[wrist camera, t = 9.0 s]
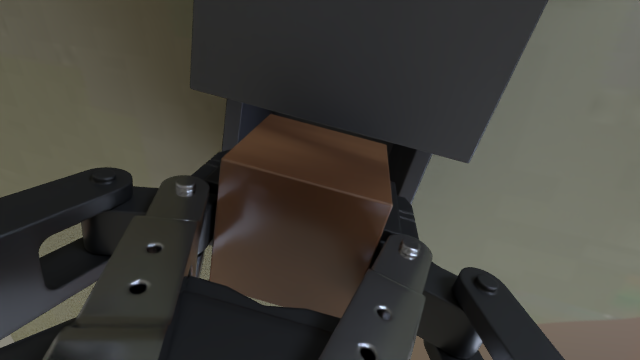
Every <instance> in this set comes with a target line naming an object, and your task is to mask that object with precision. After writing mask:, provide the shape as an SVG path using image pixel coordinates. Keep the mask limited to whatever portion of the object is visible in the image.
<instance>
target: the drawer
mask: <svg viewBox="0 0 640 360" xmlns="http://www.w3.org/2000/svg"><path fill="white" fill-rule="evenodd" d="M270 114H273V115H277V116H281V117H284V118H288V119H292V120H296V121H299V122H303V123H307V124H311V125H314V126H318V127H322V128H326V129H329V130H333V131H337V132H341V133H344V134H348V135H352V136H355V137H359V138H363V139H367V140H370V141H374V142H378V143H382V144H385V145H387V155H388V164H389V174H390V181H392V182H395V185H396V192H397V196H400V197H404V198H406V199H407V201H408V202H409V203H410V204H411V203H412V201H413V198H414V196H415V194H416V191H417V189H418V187H419V184H420V182H421V179H422V177H423V175H424V172H425V170H426V168H427V165H428V163H429V161H430V158H431V156H432V154H431V153H428V152H424V151H420V150H417V149H413V148H409V147H405V146H402V145H398V144H394V143H391V142H387V141H383V140H379V139H376V138H372V137H368V136H364V135H361V134H357V133H353V132H350V131H346V130H342V129H338V128H335V127H331V126H327V125H324V124H320V123H316V122H312V121H309V120H305V119H301V118H297V117H294V116H290V115H286V114H283V113H279V112H275V111H271V110H268V109H264V108H260V107H257V106H253V105H249V104H245V103H242V102H238V101H234V100H231V99H227V103H226V113H225V124H224V134H223V144H222V151H226V150H231V149H232V148H233V147H234V146H235V145H237V144H238V143H239V142H240V141H241V140H242V139H243V138H244V137H245V136H246V135H248V134H249V133H250V132H251V131H252V130H253V129H254V128H255V127H256V126H258V125H259V124H260V123H261V122H262V121H263V120H264V119H265V118H266V117H267V116H269V115H270ZM209 245H212V246H213V244H211V243H209Z"/></svg>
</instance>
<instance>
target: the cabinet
mask: <svg viewBox="0 0 640 360" xmlns="http://www.w3.org/2000/svg"><path fill="white" fill-rule="evenodd" d="M547 2H548V0H194V6H193V28H192V51H191V74H190V88H191V89H193V90H197V91H201V92H204V93H208V94H212V95H216V96H219V97H223V98H227V99H231V100H234V101H238V102H242V103H245V104H249V105H253V106H257V107H260V108H264V109H268V110H271V111H275V112H279V113H283V114H286V115H290V116H294V117H297V118H301V119H305V120H309V121H312V122H316V123H320V124H324V125H327V126H331V127H335V128H338V129H342V130H346V131H350V132H353V133H357V134H361V135H364V136H368V137H372V138H376V139H379V140H383V141H387V142H391V143H394V144H398V145H402V146H405V147H409V148H413V149H417V150H420V151H424V152H428V153H431V154H435V155H439V156H443V157H446V158H450V159H454V160H458V161H461V162H465V163H469V162H470V160H471V158H472V156H473V154H474V152H475V150H476V148H477V146H478V144H479V142H480V140H481V138H482V136H483V133H484V131H485V129H486V127H487V125H488V123H489V121H490V119H491V117H492V115H493V113H494V111H495V109H496V107H497V105H498V103H499V101H500V98H501V96H502V94H503V92H504V90H505V88H506V86H507V84H508V82H509V80H510V78H511V76H512V74H513V72H514V70H515V68H516V66H517V63H518V61H519V59H520V57H521V55H522V53H523V51H524V49H525V47H526V45H527V43H528V41H529V39H530V37H531V35H532V33H533V31H534V28H535V26H536V24H537V22H538V20H539V18H540V16H541V14H542V12H543V10H544V8H545V6H546V4H547Z"/></svg>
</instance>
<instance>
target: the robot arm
mask: <svg viewBox="0 0 640 360" xmlns="http://www.w3.org/2000/svg"><path fill="white" fill-rule="evenodd" d="M229 151H230V150H226V151H222V152H219V153H217V154H216V155H215V156H214V157H212V158H211V160H209V161H208V162H207V163H206V164H204V165H203V166H202V167H201V168H200V169H198V170H197V171H196V172H195V173H194V174H193V175H191V176H187V175H181V176H174V177H170V178H168V179H166V180H164V181H163V182H162V183H161V185H160V187H159V188H147V187H135V186H133V181H132V176H131V174H130V173H128V172H127V171H125V170H122V169H118V168H107V167H105V168H95V169H90V170H87V171H83V172H80V173H77V174H74V175H71V176H68V177H65V178H61V179H58V180H55V181H52V182H49V183H46V184H42V185H39V186H36V187H33V188H30V189H27V190H23V191H20V192H17V193H14V194H11V195H8V196H5V197H1V198H0V340H1V339H3V338H5V337H6V336H8V335H10V334H11V333H13V332H14V331H16V330H18V329H19V328H21V327H23V326H24V325H26V324H27V323H29V322H31V321H32V320H34V319H36V318H37V317H39V316H40V315H42V314H44V313H45V312H47V311H49V310H50V309H52V308H53V307H55V306H57V305H58V304H60V303H62V302H63V301H65V300H66V299H68V298H70V297H71V296H73V295H75V294H76V293H78V292H79V291H81V290H83V289H84V288H86V287H88V286H89V285H91V284H92V283H94V282H96V281H97V282H96V284H95V286H94V288H93V289H92V291H91V293H90V295H89V297H88V298H87V300H86V302H85V304H84V305H83V307H82V309H81V311H80V313H79V314H78V316H77V317H76V318H73V319H71V320H68V321H66V322H63V323H61V324H59V325H56V326H54V327H51V328H49V329H46V330H44V331H41V332H39V333H36V334H34V335H31V336H29V337H27V338H24V339H22V340H19V341H17V342H14V343H12V344H9V345H7V346H4V347H2V348H0V360H410V359H411V355H412V351H413V347H414V343H415V339H416V335H417V336H419V337H421V338H422V339H424V346H425V349H426V351H427V353H428V355H429V358H430V360H484V359H483V358H482V356H481V354H480V352H479V351H478V349H479V347H480V346H481V344H482V343H483V344H484V345H485V347H486V349H487V350H488V352H489V354H490V355H491V357H492V359H493V360H565V359H564V358H563V357H562V356H561V354H560V353H559V352H558V351H557V350H556V348H555V347H554V346H553V345H552V343H551V342H550V341H549V339H548V338H547V337H546V336H545V334H544V333H543V332H542V331H541V329H540V328H539V327H538V326H537V324H536V323H535V322H534V321H533V319H532V318H531V317H530V316H529V314H528V313H527V312H526V311H525V309H524V308H523V307H522V306H521V305H520V303H519V302H518V301H517V300H516V298H515V297H514V296H513V295H512V293H511V292H510V291H509V290H508V288H507V287H506V286H505V285H504V284H503V283H502V282H501V281H500V280H499V279H497V278H496V277H495V276H493V275H492V274H490V273H488V272H486V271H484V270H481V269H478V268H473V267H467V268H464V269H462V270H461V272H460V273H459V275H458V276H457V275H455V274H453V273H451V272H449V271H447V270H444V269H442V268H441V267H439V266H437V265H436V264H434V263H433V262H432V253H431V251H430V249H429V248H428V247H427V246H426V245H425V244H424V243H423V242H421V241H420V240H419V238H418V233H417V228H416V223H415V218H414V216H413V209H412V206H411V204H410V203H409V202H408V201H407V199H406V198H404V197H400V196H397V192H396V185H395V182H392V181H390V184H391V194H392V203H393V207H392V210H391V212H390V215H389V217H388V220H387V222H386V225H385V228H384V230H383V233H382V235H381V238H380V240H379V243H378V246H377V248H376V251H375V253H374V256H373V258H372V261H371V264H370V266H369V269H368V270H367V272H366V274H365V276H364V278H363V279H362V281H361V283H360V285H359V287H358V288H357V290H356V292H355V294H354V296H353V297H352V299H351V301H350V303H349V305H348V306H347V308H346V310H345V312H344V314H343V316H342V317H341V318H338V317H334V316H331V315H327V314H324V313H320V312H317V311H313V310H310V309H306V308H291V307H276V306H265V305H261V304H259V303H257V302H256V301H254V300H252V299H250V298H248V297H246V296H245V295H243V294H241V293H239V292H237V291H235V290H234V289H232V288H230V287H228V286H225V285H222V284H218V283H215V282H211V281H208V280H204V279H201V278H200V275H201V270H202V265H203V260H204V253H205V249H206V247H207V246H208V245H209V243H211V244H213V237H214V227H215V216H216V206H217V195H218V184H219V174H220V163H221V158H222V157H223V156H224V155H225V154H227V153H228V152H229ZM80 222H81V226H82V234H83V237H82V238H80V239H78V240H76V241H74V242H72V243H70V244H68V245H66V246H63V247H61V248H59V249H57V250H55V251H53V252H51V253H49V254H47V255H45V256H43V257H41V258H39V253H38V252H39V248H40V246H41V244H42V243H43V242H44V241H45V240H46V239H47V238H48V237H50V236H51V235H53V234H56V233H58V232H60V231H62V230H65V229H67V228H69V227H71V226H74V225H76V224H78V223H80Z"/></svg>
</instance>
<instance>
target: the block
mask: <svg viewBox="0 0 640 360" xmlns="http://www.w3.org/2000/svg"><path fill="white" fill-rule="evenodd" d="M392 207H393V203H392V194H391V184H390V174H389V164H388V155H387V145H385V144H382V143H378V142H374V141H370V140H367V139H363V138H359V137H355V136H352V135H348V134H344V133H341V132H337V131H333V130H329V129H326V128H322V127H318V126H314V125H311V124H307V123H303V122H299V121H296V120H292V119H288V118H284V117H281V116H277V115H273V114H270V115H269V116H267V117H266V118H265V119H264V120H263V121H262V122H261V123H260V124H259V125H258V126H256V127H255V128H254V129H253V130H252V131H251V132H250V133H249V134H248V135H246V136H245V137H244V138H243V139H242V140H241V141H240V142H239V143H238V144H237V145H235V146H234V147H233V148H232V149H231V150H230V151H229V152H228V153H227V154H225V155H224V156H223V157H222V158H221V163H220V174H219V184H218V195H217V206H216V216H215V227H214V237H213V248H212V258H211V269H210V279H209V281H211V282H215V283H218V284H222V285H225V286H228V287H230V288H232V289H234V290H235V291H237V292H239V293H241V294H243V295H245V296H248V297H251V298H255V299H258V300H262V301H265V302H269V303H272V304H276V305H279V306H283V307H291V308H306V309H310V310H313V311H317V312H320V313H324V314H327V315H331V316H334V317H338V318H341V317H342V316H343V314H344V312H345V310H346V308H347V306H348V305H349V303H350V301H351V299H352V297H353V296H354V294H355V292H356V290H357V288H358V287H359V285H360V283H361V281H362V279H363V278H364V276H365V274H366V272H367V270H368V269H369V266H370V264H371V261H372V258H373V256H374V253H375V251H376V248H377V246H378V243H379V240H380V238H381V235H382V233H383V230H384V228H385V225H386V222H387V220H388V217H389V215H390V212H391V210H392Z"/></svg>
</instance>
